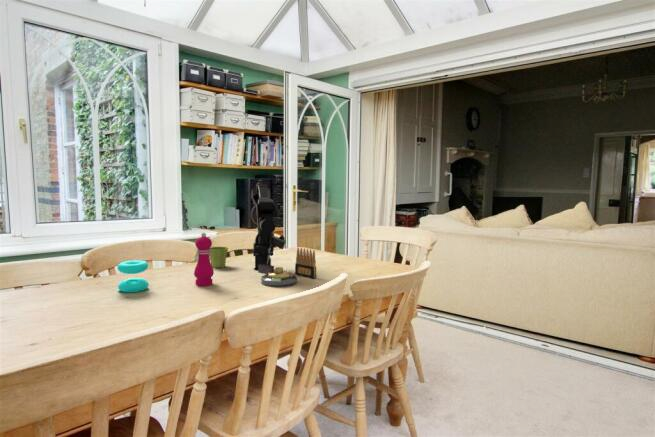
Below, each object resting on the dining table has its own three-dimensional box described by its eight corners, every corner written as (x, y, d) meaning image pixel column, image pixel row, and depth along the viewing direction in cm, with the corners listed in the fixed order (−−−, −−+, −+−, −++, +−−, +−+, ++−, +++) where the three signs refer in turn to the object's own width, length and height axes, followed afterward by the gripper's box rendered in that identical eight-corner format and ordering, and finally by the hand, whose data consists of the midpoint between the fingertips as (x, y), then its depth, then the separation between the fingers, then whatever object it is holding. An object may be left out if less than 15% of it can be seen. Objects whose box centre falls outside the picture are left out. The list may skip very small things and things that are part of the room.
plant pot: (203, 267, 186) (203, 249, 185) (214, 263, 194) (214, 245, 194) (221, 269, 183) (221, 250, 182) (232, 265, 192) (232, 247, 191)
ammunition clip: (316, 278, 171) (317, 250, 170) (313, 279, 169) (314, 250, 168) (297, 274, 177) (298, 246, 176) (294, 274, 176) (295, 247, 175)
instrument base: (257, 286, 156) (257, 278, 156) (265, 277, 170) (265, 270, 170) (293, 287, 155) (294, 279, 155) (298, 278, 169) (299, 271, 169)
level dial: (251, 274, 165) (252, 265, 164) (267, 270, 172) (267, 262, 172) (280, 280, 156) (280, 271, 156) (295, 276, 164) (295, 267, 163)
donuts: (139, 258, 154) (153, 262, 148) (139, 284, 155) (154, 289, 149) (112, 262, 146) (126, 266, 140) (112, 289, 147) (126, 295, 141)
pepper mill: (208, 287, 153) (207, 234, 151) (190, 285, 155) (189, 233, 153) (217, 282, 160) (216, 232, 158) (200, 281, 162) (199, 231, 160)
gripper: (280, 234, 162) (280, 272, 164) (288, 228, 181) (287, 263, 182) (252, 233, 163) (252, 271, 164) (263, 227, 182) (263, 262, 183)
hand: (265, 267), depth 174 cm, fingers closed
